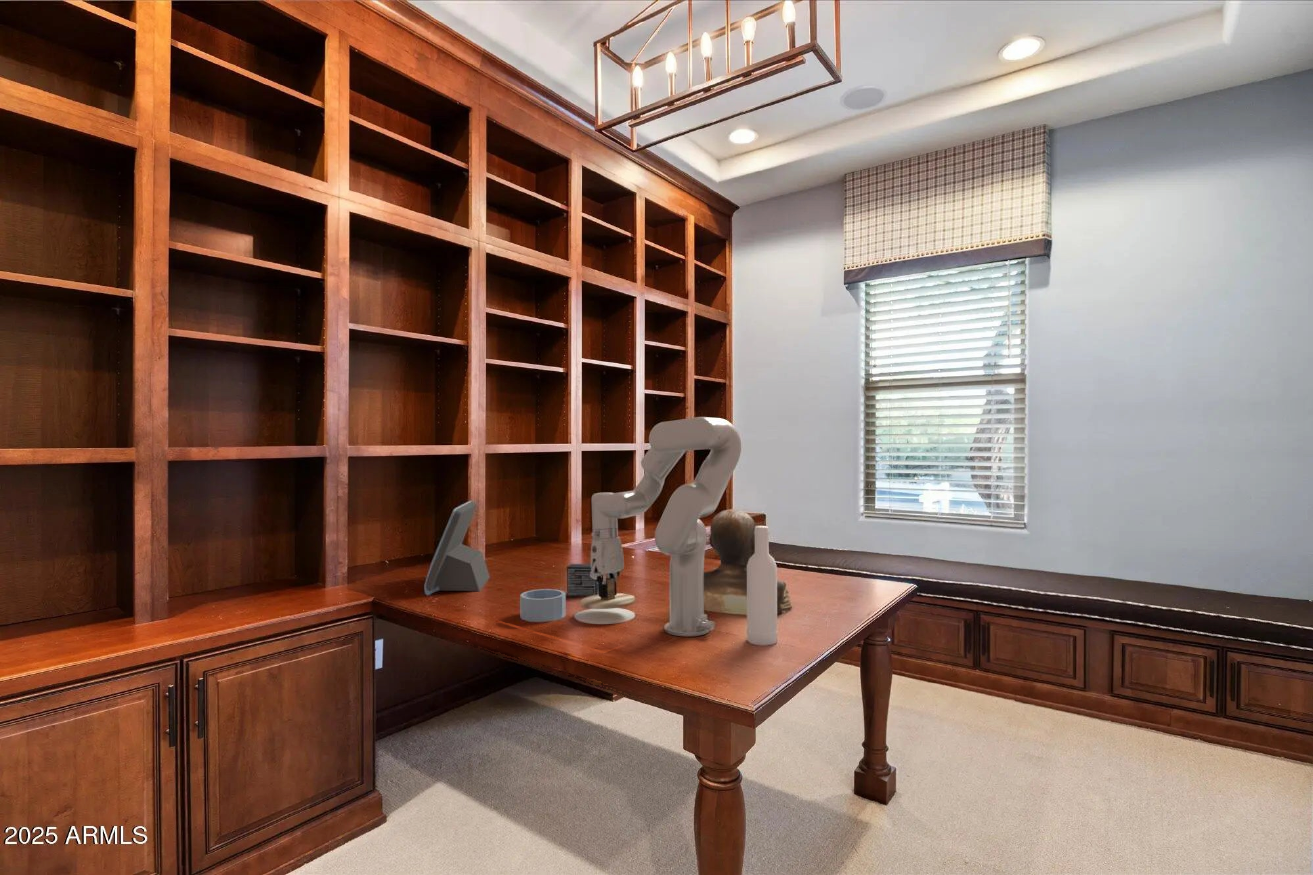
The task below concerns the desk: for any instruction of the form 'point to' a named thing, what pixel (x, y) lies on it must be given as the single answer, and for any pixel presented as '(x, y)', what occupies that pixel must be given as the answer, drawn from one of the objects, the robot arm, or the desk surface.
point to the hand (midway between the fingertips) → (607, 595)
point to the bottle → (762, 592)
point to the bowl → (542, 605)
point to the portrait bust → (734, 565)
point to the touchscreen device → (457, 557)
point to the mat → (604, 616)
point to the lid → (608, 599)
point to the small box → (580, 581)
